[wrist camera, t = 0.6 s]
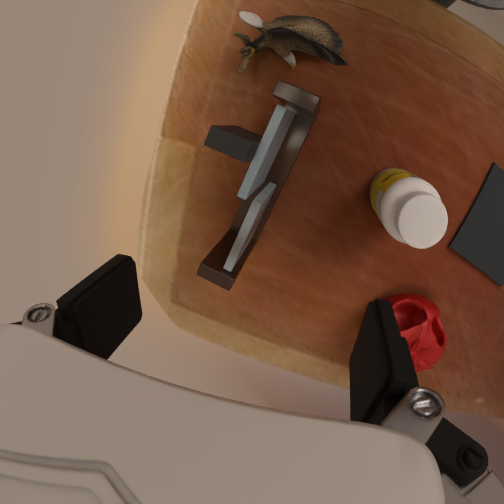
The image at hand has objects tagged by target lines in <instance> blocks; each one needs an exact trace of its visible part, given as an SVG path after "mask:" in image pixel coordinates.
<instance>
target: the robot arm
mask: <svg viewBox="0 0 504 504" xmlns="http://www.w3.org/2000/svg"><path fill="white" fill-rule="evenodd" d="M56 302H57V305H58V309H56V310H55V308H54V306H53V305H51V304H48V303H41V304H36V305H34V306H32V307H30V308H29V309H28V310H27V311H26V312H25V314H24V316H23V320H22V321H21V322H16V323H11V324H2V325H0V504H504V485H503V483H502V482H501V481H500V479H499V478H498V476H497V475H496V474H495V472H494V471H493V470H492V471H491V472H489V471H488V470H487V466H488V456H487V453H486V451H485V449H484V448H483V447H482V446H481V445H480V444H479V443H477V442H476V441H475V440H473V439H472V438H471V437H469V436H468V435H466V434H465V433H464V432H463V431H461V430H460V429H458V428H457V427H456V426H454V425H453V424H452V423H450V422H449V421H448V420H446V419H445V418H444V417H443V416H444V413H445V403H444V400H443V399H442V397H441V396H440V395H439V394H438V393H437V392H436V391H434V390H432V389H430V388H426V387H419V384H418V379H417V375H416V372H415V368H414V364H413V360H412V356H411V353H410V349H409V346H408V342H407V340H406V338H405V337H401V334H400V330H399V327H398V323H397V320H396V317H395V313H394V310H393V307H392V304H391V301H389V300H383V299H375V300H374V302H369V304H368V307H367V310H366V313H365V316H364V319H363V322H362V325H361V328H360V331H359V334H358V337H357V340H356V343H355V345H354V348H353V351H352V353H351V356H350V362H349V369H350V421H349V420H341V419H336V418H328V417H320V416H313V415H307V414H300V413H294V412H289V411H283V410H278V409H272V408H267V407H262V406H257V405H252V404H248V403H243V402H238V401H235V400H230V399H226V398H222V397H218V396H214V395H211V394H207V393H203V392H199V391H196V390H193V389H189V388H186V387H182V386H179V385H176V384H172V383H169V382H166V381H163V380H160V379H157V378H154V377H151V376H148V375H145V374H142V373H140V372H137V371H134V370H132V369H129V368H126V367H124V366H121V365H118V364H116V363H113V362H111V361H108V360H107V359H108V358H109V357H110V356H111V355H112V353H113V352H114V351H115V350H116V349H117V347H118V346H119V345H120V344H121V343H122V342H123V340H124V339H125V338H126V337H127V335H128V334H129V333H130V332H131V331H132V330H133V329H134V327H135V326H136V325H137V324H138V323H139V322H140V320H141V317H142V309H141V302H140V295H139V288H138V281H137V272H136V264H135V262H134V261H133V259H132V257H130V256H127V255H122V254H118V255H116V256H115V257H113V258H112V259H110V260H109V261H108V262H106V263H105V264H104V265H102V266H101V267H99V268H98V269H97V270H95V271H94V272H93V273H91V274H90V275H89V276H87V277H86V278H85V279H84V280H82V281H81V282H80V283H78V284H77V285H76V286H74V287H73V288H72V289H70V290H69V291H68V292H67V293H65V294H64V295H63V296H62V297H60V298H59V299H58V300H57V301H56Z"/></svg>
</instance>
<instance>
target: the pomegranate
mask: <svg viewBox="0 0 504 504" xmlns="http://www.w3.org/2000/svg"><path fill="white" fill-rule="evenodd" d="M385 300H389V301H391V304H392V307H393V310H394V313H395V317H396V320H397V323H398V327H399V330H400V334H401V337H405V338H406V340H407V342H408V346H409V349H410V353H411V356H412V360H413V364H414V368H415V372H416V373H417V372H420V371H422V370H424V369H433V368H434V367H433V368H431V367H429V366H432V365H434V364H435V363H437V362H438V360H439V359H440V358H441V356H442V353H443V351H444V349H445V346H446V341H447V336H446V334H445V332H444V329H443V325H442V323H441V320H440V310H439V308H438V306H437V305H435V304H434V303H433V302H432V301H430V300H428V299H427V298H425V297H423V296H421V295H416V294H409V293H406V294H399V295H395V296H392V297H389V298H387V299H385Z"/></svg>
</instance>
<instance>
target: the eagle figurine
mask: <svg viewBox="0 0 504 504" xmlns="http://www.w3.org/2000/svg"><path fill="white" fill-rule="evenodd" d="M239 16H240V18H241V19H242V20H243V21H244V22H246V23H247V24H249V25H251V26H254V27H256V28H257V29H259V30H260V31H261V32H262V33H263V35H262V36H261V37H259V38H258V39H255V40H254V41H253V42H250V40H249V37H248V36H247V35H243V34H240V33H234V35H235V36H237V37H240V38H241V39H242V41H243V43H244V45H245V46H246V48H242V49H240V51H239V52H240V54H241V55H243V56H242V61H241V66H240V68H239V70H238V74H241V73H243V72H244V71H245V70H246V66H247V63H248V61H249V60H250V59H251V58H252V56H253V55H254V54H256V53H258V51H259V50H260V49H262V48H265V47H270V48H273V50H274V51H275V52H276V53H277V54H278V55H279V56H280V57H282V58H283V59H284V60H286V61H287V62H288V63H289V64H290V65H291V69H294V68H295V64H296V61H295V57H294V55H293V53H292V51H302V52H305V53H307V54H309V55H312V56H315V57H320V58H322V59H324V60H326V61H328V62H330V63H332V64H335V65H348V63H347V62H346V61H345V59H344V58H342V56H341V55H339V54H337V53H339V52H340V48H343V45H342V43H343V40H342V39H341V38H339V36H340V35H339V34H338V33H337V32H334V31H333V30H334V29H333V28H332V27H330V26H329V24H328V23H325V22H324V21H321V20H320V19H316V18H315V17H307V16H303V17H302V16H282V17H278V18H276V19H275V20H274V21H272V22H271V23H268V22H265V21H262V20H261V18H260V17H259V16H258V15H256V14H254V13H249V12H246V11H244V12H243V11H240V13H239Z"/></svg>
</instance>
